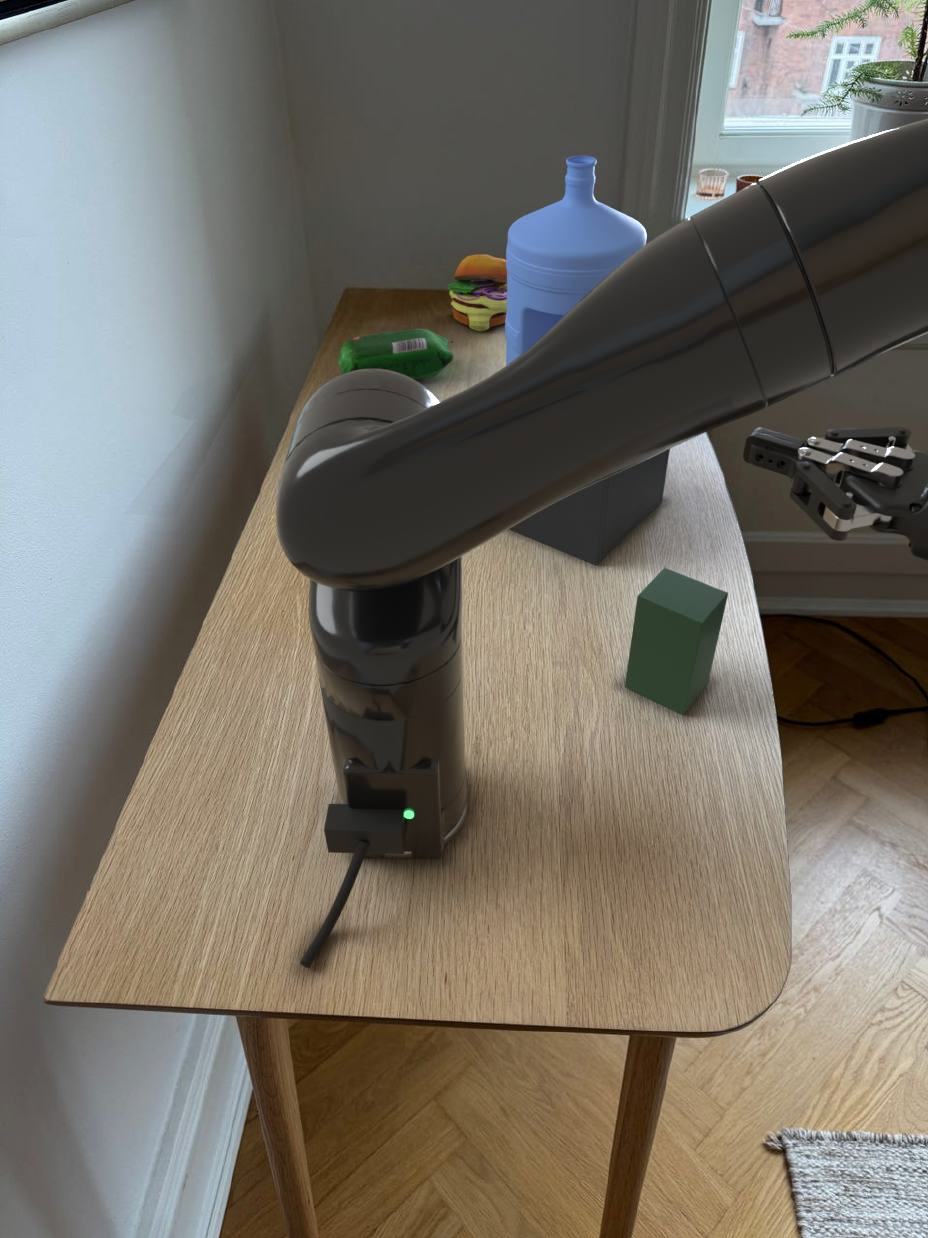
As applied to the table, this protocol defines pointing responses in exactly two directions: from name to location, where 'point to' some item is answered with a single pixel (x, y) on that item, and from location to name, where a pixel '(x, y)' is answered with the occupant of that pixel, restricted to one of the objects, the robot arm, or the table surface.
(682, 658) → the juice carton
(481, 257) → the cheeseburger
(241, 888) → the table surface
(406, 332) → the snack package
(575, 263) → the water jug
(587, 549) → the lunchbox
